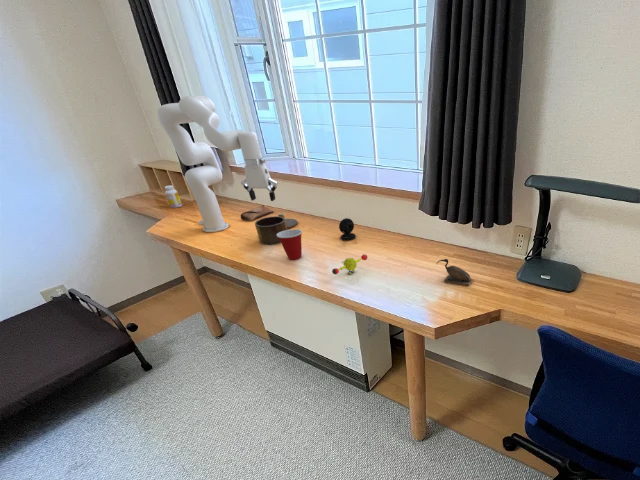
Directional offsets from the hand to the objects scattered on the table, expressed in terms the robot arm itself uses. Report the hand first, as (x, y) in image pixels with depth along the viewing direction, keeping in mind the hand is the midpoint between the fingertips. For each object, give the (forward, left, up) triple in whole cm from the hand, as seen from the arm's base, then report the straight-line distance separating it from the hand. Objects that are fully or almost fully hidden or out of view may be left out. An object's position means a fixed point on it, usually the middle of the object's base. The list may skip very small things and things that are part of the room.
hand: (263, 199), depth 170 cm
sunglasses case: (-26, +33, -20) cm, 46 cm away
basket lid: (-3, +19, -19) cm, 27 cm away
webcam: (+38, +4, -20) cm, 43 cm away
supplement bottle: (-89, +48, -20) cm, 103 cm away
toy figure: (+50, -32, -20) cm, 62 cm away
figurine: (+92, -35, -20) cm, 100 cm away
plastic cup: (+20, -19, -20) cm, 34 cm away
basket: (+1, 0, -20) cm, 20 cm away
